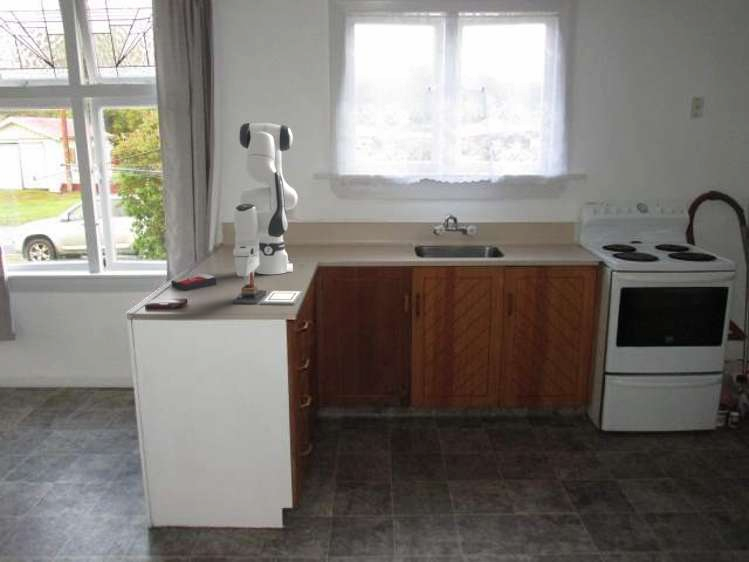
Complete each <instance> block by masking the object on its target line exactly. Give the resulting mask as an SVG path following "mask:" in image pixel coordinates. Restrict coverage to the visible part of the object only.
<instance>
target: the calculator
mask: <svg viewBox="0 0 749 562" xmlns="http://www.w3.org/2000/svg"><path fill="white" fill-rule="evenodd" d="M216 285H218V284H217V277H216V276H213V275H210V274H206V273H203V272H200V273H196V274H190V275H186V276H184V277H178V278H174V279H172V281H171V287H172V288H173V289H177V290H181V291H183V292H187V291H194V290H197V289H198V290H199V289H202V288H208V287H213V286H216Z"/></svg>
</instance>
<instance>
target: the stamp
mask: <svg viewBox="0 0 749 562" xmlns="http://www.w3.org/2000/svg"><path fill="white" fill-rule="evenodd" d="M249 277H250V282H251V283H250V284H249V285H246V284H245V283H244V284H245V285H244V286H243V287H241V290H240V291H241V292H242V296H255V295H256V294H257V293H258V292H259V291H258V290H259V285H258V284H255V282H254V281H255V279H254V277H253V271H252V272H251V273H250V276H249Z"/></svg>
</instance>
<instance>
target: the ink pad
mask: <svg viewBox="0 0 749 562" xmlns="http://www.w3.org/2000/svg"><path fill="white" fill-rule="evenodd" d="M258 291H259V292H258V293H257V294H256V295H255V296H242V291H241V292H240V293H239V294H238V295H237V296H235V297H234V299H233V300H232V301H233V305H234V304H236V305H237V304H239V305H240V304H242V305H243V304H245V305H249V304H250V305H251V304H252V305H257V304H258V303H260V302H261V301H262V300H263V299H264V298H265V297H266V296H267V291H266V290H263V289H258Z"/></svg>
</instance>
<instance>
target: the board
mask: <svg viewBox="0 0 749 562" xmlns="http://www.w3.org/2000/svg"><path fill="white" fill-rule="evenodd" d="M303 294H304V290H270V291H269V292H268V294H266V295H265V296H264V297H263V298H262V299H261V300H260V301H259V303H260V305H264V306H265V305H268V306H271V305H273V306H274V305H275V306H280V305H281V306H282V305H283V306H286V305H287V306H295V305H296V304H297V302H298V301H299V299H300V298H301V297H302V296H303Z"/></svg>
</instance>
